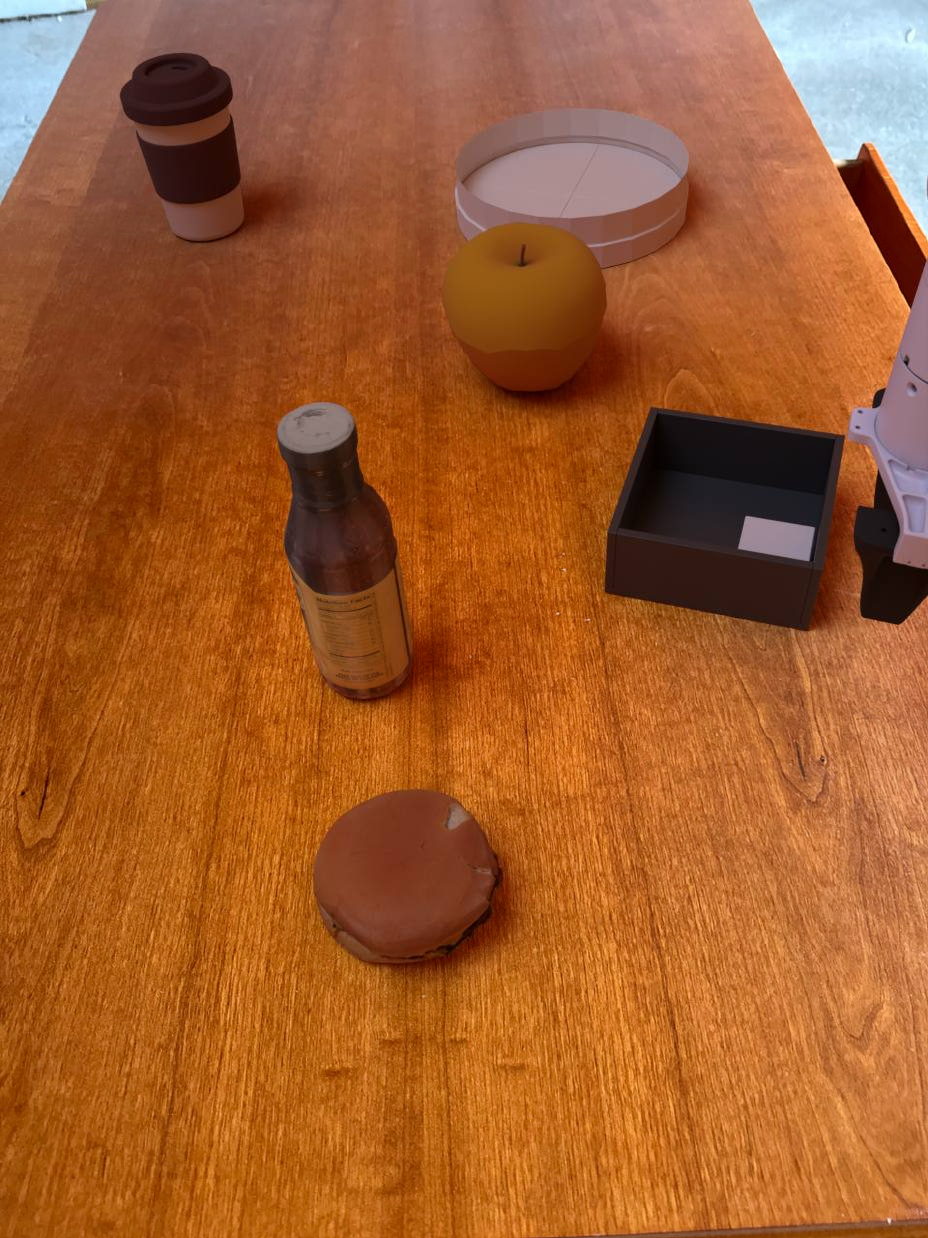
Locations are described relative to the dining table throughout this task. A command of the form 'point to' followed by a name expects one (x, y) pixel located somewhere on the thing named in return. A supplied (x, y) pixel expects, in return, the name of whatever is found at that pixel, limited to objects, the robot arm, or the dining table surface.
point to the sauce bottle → (343, 556)
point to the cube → (777, 538)
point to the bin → (722, 515)
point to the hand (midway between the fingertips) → (887, 564)
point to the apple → (525, 304)
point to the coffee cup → (188, 142)
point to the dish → (577, 179)
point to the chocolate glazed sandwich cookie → (405, 877)
